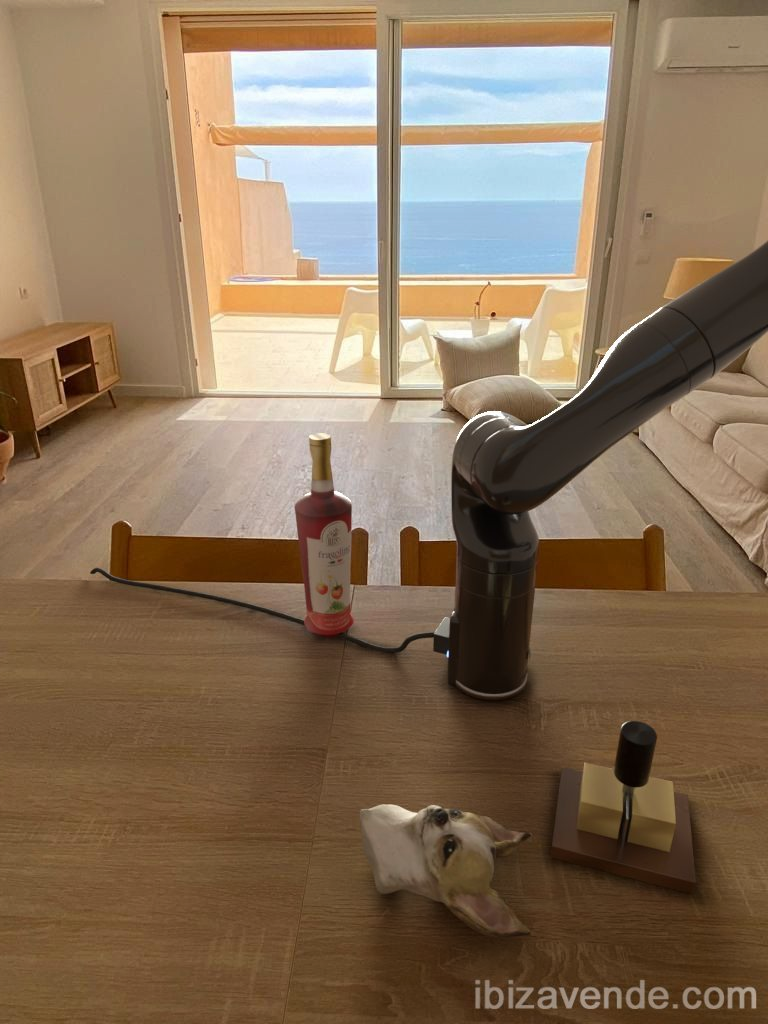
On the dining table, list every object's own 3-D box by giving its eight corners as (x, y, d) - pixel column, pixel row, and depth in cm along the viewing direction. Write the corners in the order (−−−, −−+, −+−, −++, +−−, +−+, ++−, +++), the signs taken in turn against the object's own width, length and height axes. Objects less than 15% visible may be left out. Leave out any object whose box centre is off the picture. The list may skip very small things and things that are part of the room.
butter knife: (604, 842, 63) (620, 754, 58) (607, 789, 68) (621, 705, 64) (639, 851, 62) (658, 762, 57) (639, 797, 67) (656, 711, 63)
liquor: (316, 649, 92) (304, 450, 80) (294, 623, 98) (280, 433, 86) (365, 633, 95) (360, 439, 84) (341, 608, 101) (333, 423, 89)
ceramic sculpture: (373, 751, 63) (541, 782, 61) (369, 818, 67) (527, 850, 64) (344, 851, 54) (541, 893, 51) (342, 922, 57) (525, 965, 55)
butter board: (550, 857, 63) (555, 817, 61) (560, 777, 72) (565, 740, 69) (692, 894, 60) (703, 853, 57) (685, 805, 68) (694, 767, 66)
